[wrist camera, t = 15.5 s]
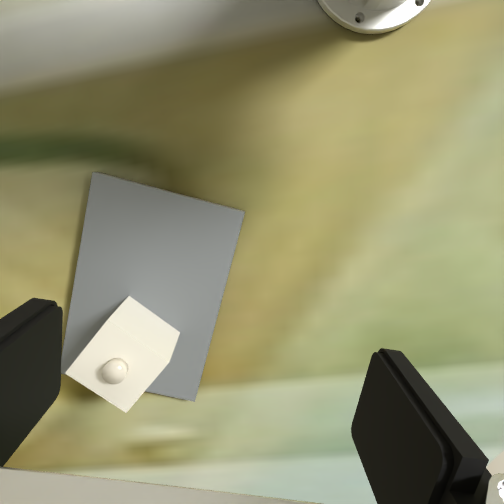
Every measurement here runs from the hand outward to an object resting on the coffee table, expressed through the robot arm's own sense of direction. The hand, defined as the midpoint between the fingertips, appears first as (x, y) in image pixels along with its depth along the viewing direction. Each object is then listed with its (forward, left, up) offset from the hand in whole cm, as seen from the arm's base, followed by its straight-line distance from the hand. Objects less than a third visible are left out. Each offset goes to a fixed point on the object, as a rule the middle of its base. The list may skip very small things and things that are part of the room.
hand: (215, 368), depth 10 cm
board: (+9, -7, -26) cm, 28 cm away
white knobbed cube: (+14, -7, -25) cm, 29 cm away
